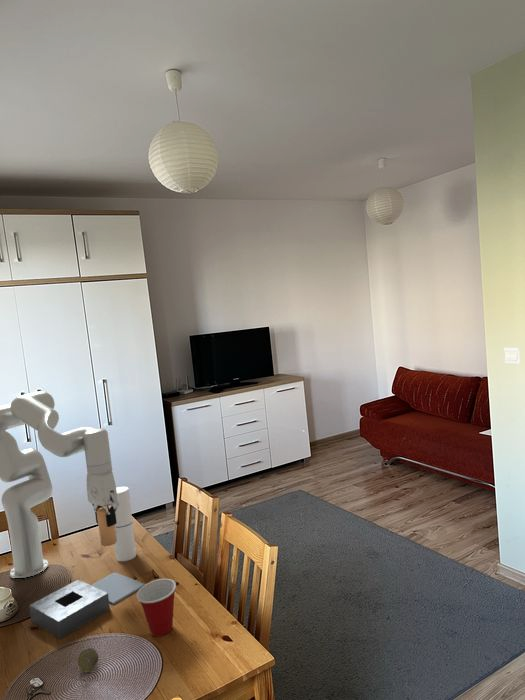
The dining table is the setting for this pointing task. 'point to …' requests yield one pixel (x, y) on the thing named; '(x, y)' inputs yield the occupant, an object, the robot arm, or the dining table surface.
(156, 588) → the plastic cup
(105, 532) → the orange rounded cylinder
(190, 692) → the dining table surface
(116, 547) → the cylindrical container
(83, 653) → the lime
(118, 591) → the mat
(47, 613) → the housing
